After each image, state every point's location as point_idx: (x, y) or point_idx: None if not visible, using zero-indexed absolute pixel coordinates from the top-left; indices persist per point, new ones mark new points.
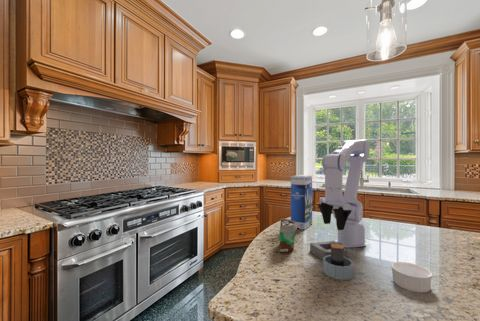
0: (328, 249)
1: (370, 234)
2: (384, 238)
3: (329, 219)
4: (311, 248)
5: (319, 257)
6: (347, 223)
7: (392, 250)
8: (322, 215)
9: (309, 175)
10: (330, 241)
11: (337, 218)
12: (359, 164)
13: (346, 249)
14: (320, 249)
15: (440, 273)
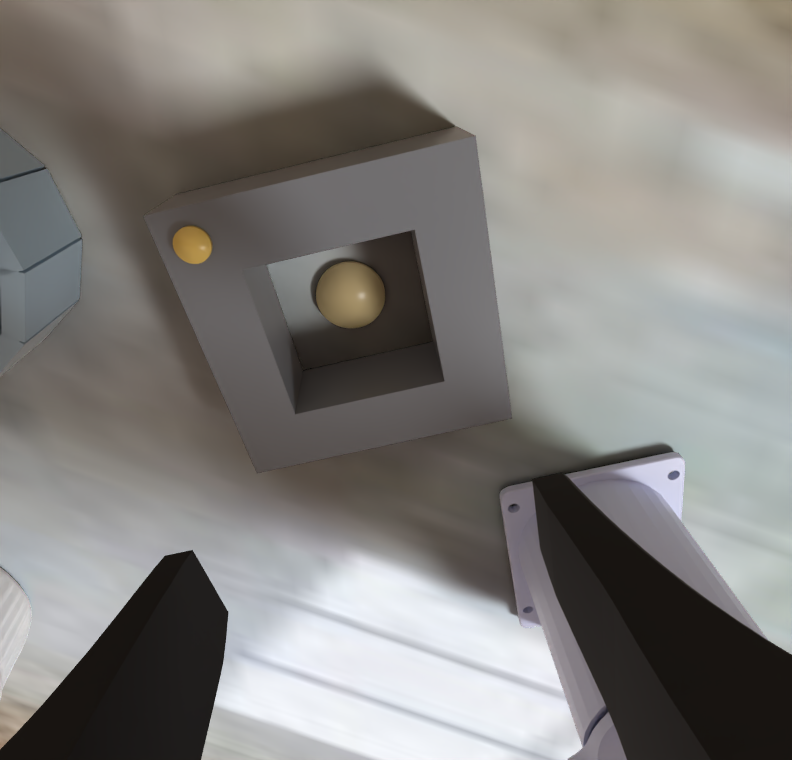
0: (432, 332)
1: None
2: None
3: (566, 603)
4: (431, 137)
5: (264, 173)
6: (608, 712)
7: (440, 705)
8: (647, 569)
9: None
10: (504, 402)
11: (12, 756)
12: None
13: (277, 465)
14: (237, 199)
15: None
